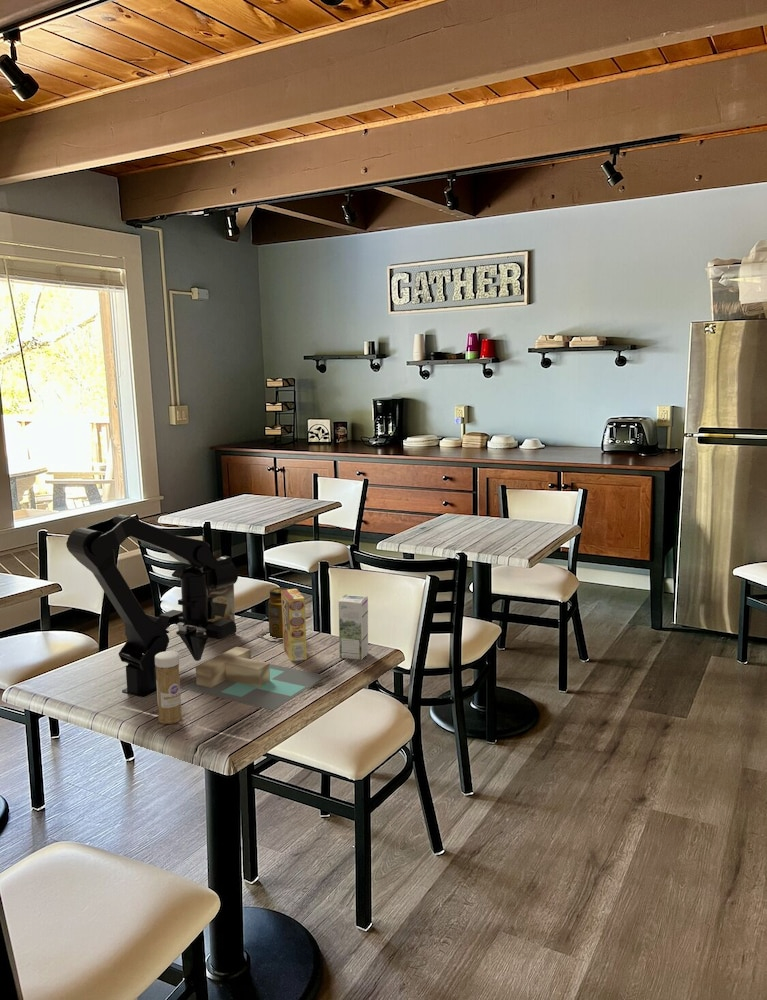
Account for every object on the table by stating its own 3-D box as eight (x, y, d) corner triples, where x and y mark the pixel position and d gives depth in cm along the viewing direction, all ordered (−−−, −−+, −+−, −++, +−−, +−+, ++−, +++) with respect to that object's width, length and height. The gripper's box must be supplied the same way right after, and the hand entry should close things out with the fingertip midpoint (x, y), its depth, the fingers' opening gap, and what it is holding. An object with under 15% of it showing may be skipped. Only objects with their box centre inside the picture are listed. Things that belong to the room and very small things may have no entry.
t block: (244, 695, 162) (243, 677, 162) (196, 684, 168) (195, 666, 168) (283, 672, 174) (282, 655, 174) (237, 663, 180) (236, 646, 180)
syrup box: (369, 653, 187) (368, 594, 185) (361, 661, 182) (361, 602, 179) (346, 650, 189) (345, 593, 187) (338, 659, 183) (337, 600, 181)
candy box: (307, 660, 183) (306, 597, 180) (289, 663, 181) (288, 599, 179) (299, 648, 191) (297, 587, 188) (282, 650, 190) (280, 589, 187)
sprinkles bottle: (170, 726, 149) (167, 660, 147) (153, 721, 151) (149, 656, 149) (187, 717, 153) (184, 652, 151) (170, 712, 155) (166, 648, 153)
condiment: (299, 635, 201) (298, 590, 199) (272, 643, 195) (271, 596, 193) (282, 628, 206) (281, 584, 204) (256, 636, 200) (254, 591, 198)
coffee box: (203, 641, 196) (200, 580, 193) (192, 635, 201) (189, 574, 198) (236, 634, 202) (234, 574, 199) (224, 627, 206) (222, 569, 204)
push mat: (273, 712, 155) (273, 710, 155) (181, 689, 166) (181, 688, 166) (326, 677, 173) (326, 675, 173) (240, 659, 184) (240, 657, 184)
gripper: (250, 590, 177) (252, 655, 179) (187, 580, 185) (190, 642, 188) (218, 603, 167) (221, 672, 169) (153, 592, 175) (157, 657, 178)
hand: (197, 660), depth 176 cm, fingers closed
